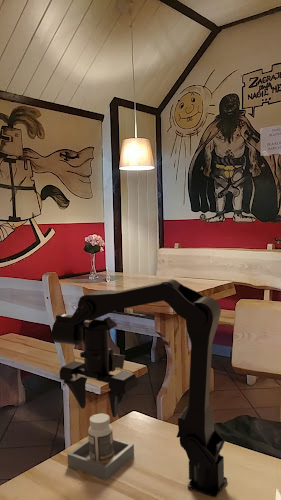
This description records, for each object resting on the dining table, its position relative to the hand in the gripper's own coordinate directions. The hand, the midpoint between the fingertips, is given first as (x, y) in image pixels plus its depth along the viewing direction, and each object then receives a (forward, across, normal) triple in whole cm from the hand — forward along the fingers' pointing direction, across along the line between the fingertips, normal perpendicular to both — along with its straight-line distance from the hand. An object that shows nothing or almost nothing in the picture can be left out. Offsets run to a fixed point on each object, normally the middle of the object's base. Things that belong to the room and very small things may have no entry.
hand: (98, 412), depth 104 cm
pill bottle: (+12, 0, 0) cm, 12 cm away
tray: (+12, 0, 0) cm, 12 cm away
